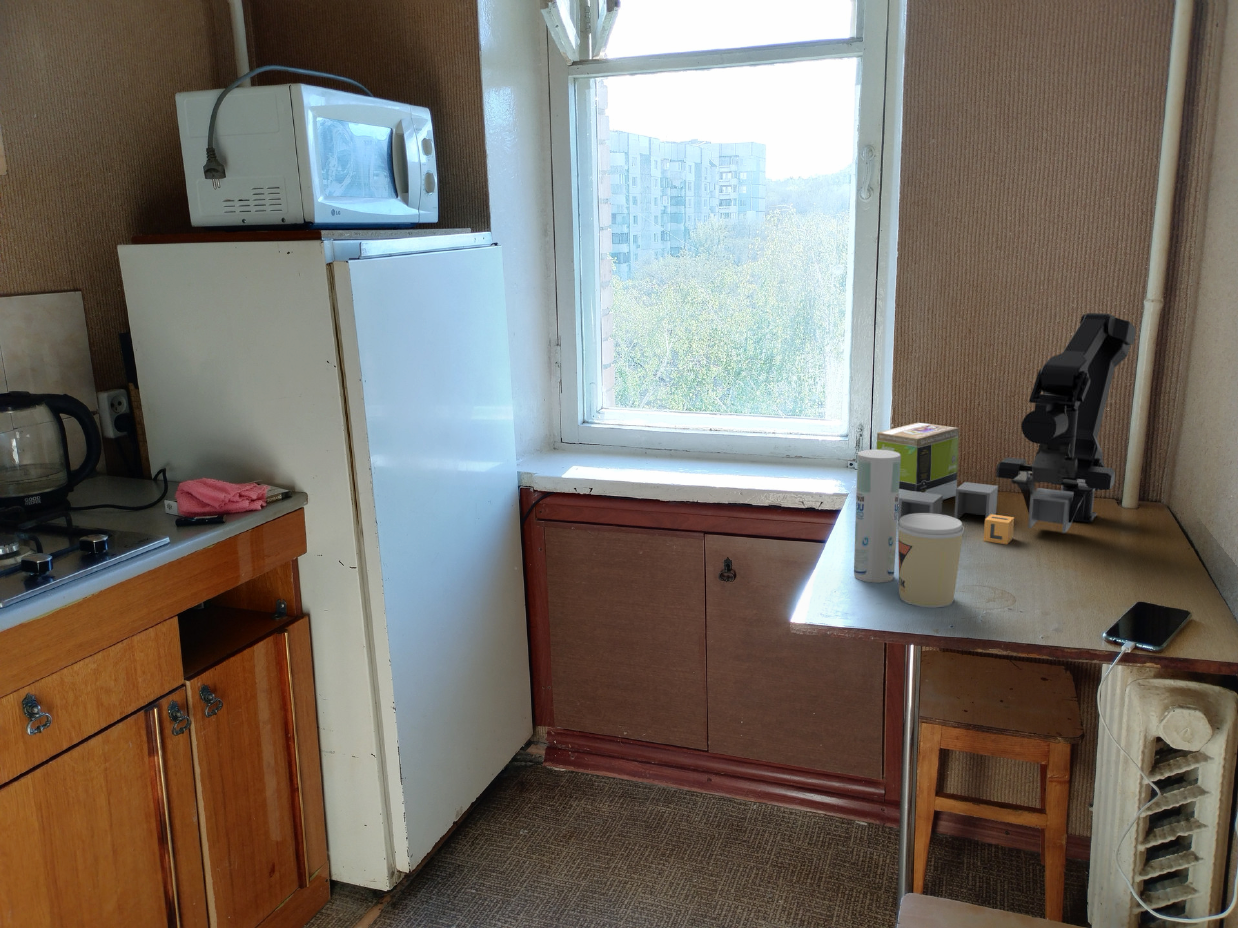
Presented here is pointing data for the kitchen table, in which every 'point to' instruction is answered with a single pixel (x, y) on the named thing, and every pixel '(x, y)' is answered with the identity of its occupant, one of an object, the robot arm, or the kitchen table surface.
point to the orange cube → (998, 529)
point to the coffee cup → (928, 558)
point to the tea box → (924, 457)
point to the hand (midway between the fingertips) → (1050, 519)
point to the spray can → (876, 515)
